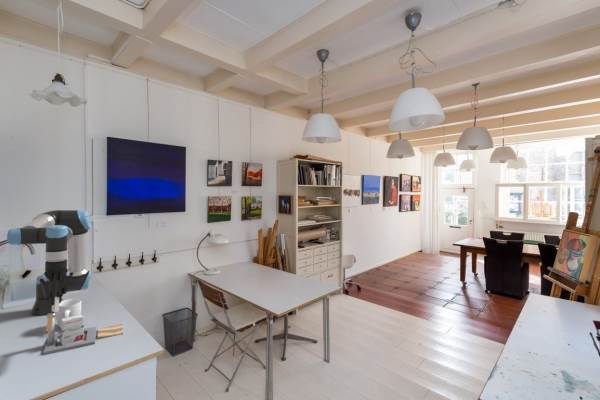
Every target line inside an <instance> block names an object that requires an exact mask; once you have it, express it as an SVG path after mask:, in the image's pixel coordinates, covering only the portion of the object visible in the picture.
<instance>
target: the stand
mask: <svg viewBox="0 0 600 400" xmlns="http://www.w3.org/2000/svg"><path fill="white" fill-rule="evenodd" d="M48 319H49V318H47V320H48ZM55 321H56V316H55V317H53V320H52V325H51V329H50V331H47V342H46V344H45V348H44V350H43V352H42V353H43V354H42V355H43V356H44V355H49V354H54V353H58V352H62V351H63V352H64V351H68V350H72V349H78V348H83V347H87V346H91V345H95V343H96V330H97V329H96V328H97V327H96V326H93V327H92V326H91V327H87V328H84V334H86V340H83V341H82V340H81V341H76V342H72V343H69V344H66V345H58V346H57V342H58V339H60V332H59V333H55Z"/></svg>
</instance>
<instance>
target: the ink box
mask: <svg viewBox="0 0 600 400" xmlns="http://www.w3.org/2000/svg"><path fill="white" fill-rule="evenodd" d="M59 327H60V328H59V329H60V330H59V331H60V332H59V333H60V338H59V340H60V341H59V342H60V344H61V346H63V345H68V344H72V343H76V342H80V341H82V340H84V339H85V338H84V334H85V333H84V329H85V316H84V315H83V314H82V313H81V314H80V315H76V316H72V317H68V318H64V319H61V326H59Z"/></svg>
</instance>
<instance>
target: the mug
mask: <svg viewBox="0 0 600 400" xmlns="http://www.w3.org/2000/svg"><path fill="white" fill-rule="evenodd" d="M80 314H81V315H82V299H79V298H70V299H65V300H63V301H61V303H59V311H58V312H56V316H55V320H56V323H57V324H58V326H59V327H60V326H61V319H64V318H68V317H72V316H76V315H80Z"/></svg>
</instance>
